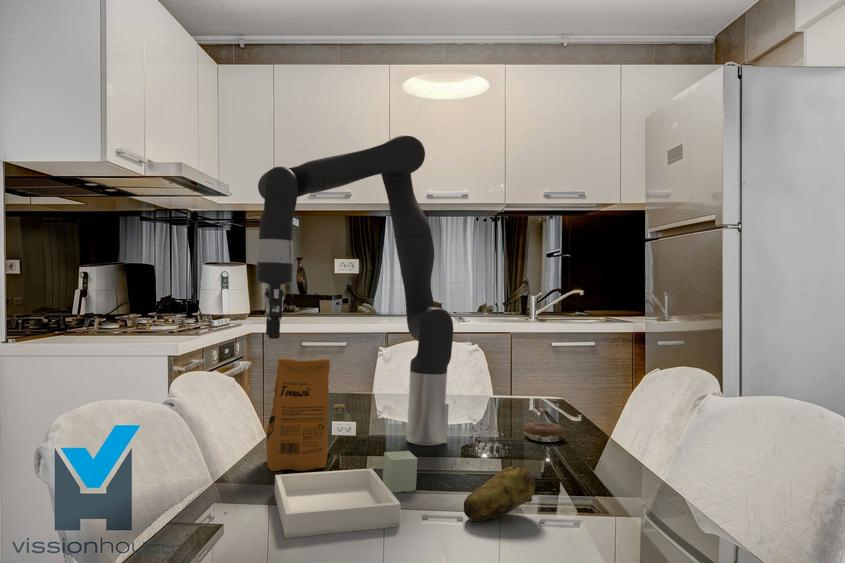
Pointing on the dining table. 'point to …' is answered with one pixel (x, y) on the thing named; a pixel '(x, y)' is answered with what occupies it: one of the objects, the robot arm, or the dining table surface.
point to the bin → (334, 502)
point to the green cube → (400, 471)
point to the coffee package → (299, 416)
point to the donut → (543, 430)
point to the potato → (500, 494)
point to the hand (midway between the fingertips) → (272, 336)
